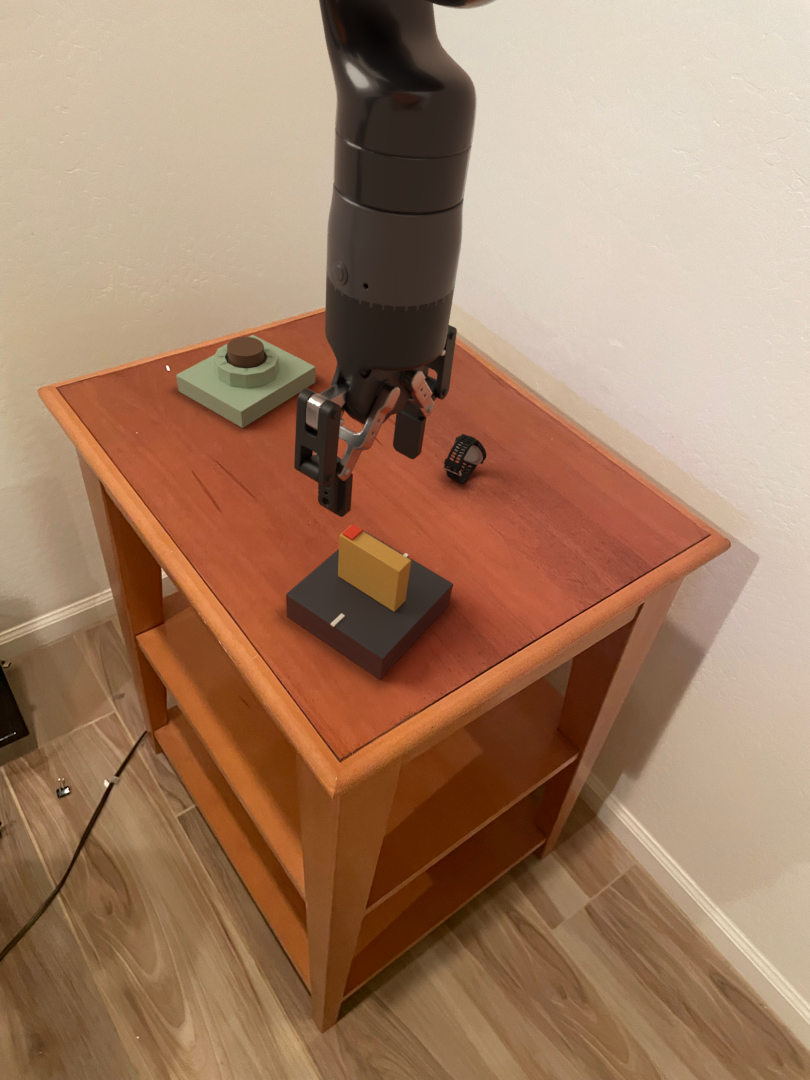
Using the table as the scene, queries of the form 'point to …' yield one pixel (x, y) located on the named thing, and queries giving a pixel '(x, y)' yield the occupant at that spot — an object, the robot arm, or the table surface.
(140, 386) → the table surface
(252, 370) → the doorbell
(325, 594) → the plate
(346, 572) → the lock knob
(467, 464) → the smartwatch
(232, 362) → the bell button
